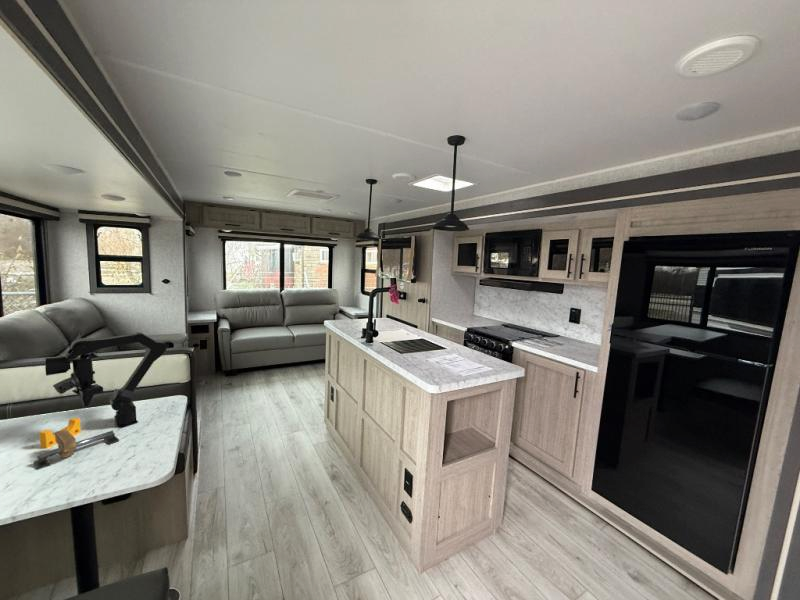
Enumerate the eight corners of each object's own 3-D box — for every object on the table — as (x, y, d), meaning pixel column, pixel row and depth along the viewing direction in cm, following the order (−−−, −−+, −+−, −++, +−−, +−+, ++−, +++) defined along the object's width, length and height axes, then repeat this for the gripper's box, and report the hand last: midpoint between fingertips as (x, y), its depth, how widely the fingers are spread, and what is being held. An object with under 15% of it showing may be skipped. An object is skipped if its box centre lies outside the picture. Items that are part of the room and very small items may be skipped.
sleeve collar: (67, 446, 123) (66, 428, 122) (77, 457, 116) (75, 438, 115) (56, 450, 120) (54, 432, 119) (65, 461, 114) (63, 442, 113)
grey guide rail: (113, 436, 132) (113, 427, 131) (119, 441, 129) (118, 431, 128) (33, 463, 113) (32, 452, 113) (37, 469, 110) (36, 458, 110)
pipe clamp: (71, 431, 135) (70, 417, 134) (80, 432, 134) (79, 418, 134) (36, 447, 123) (35, 432, 122) (46, 449, 122) (45, 433, 122)
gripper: (46, 370, 128) (50, 407, 130) (63, 380, 119) (67, 420, 121) (84, 363, 138) (86, 398, 139) (102, 372, 128) (105, 409, 130)
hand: (85, 406), depth 132 cm, fingers closed
